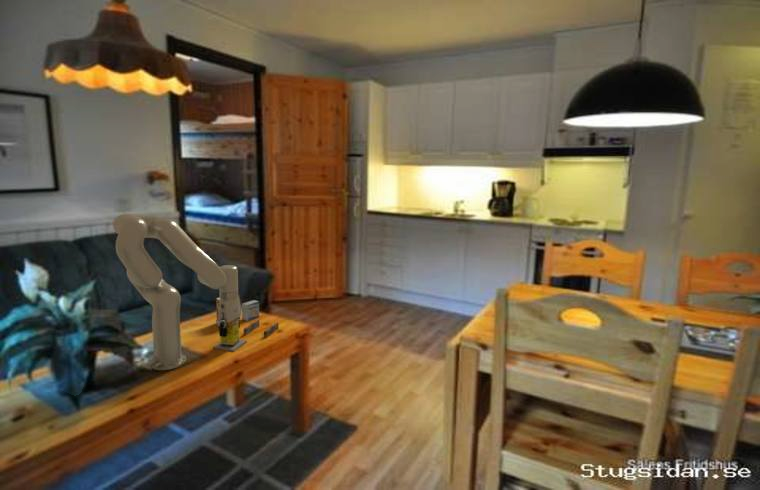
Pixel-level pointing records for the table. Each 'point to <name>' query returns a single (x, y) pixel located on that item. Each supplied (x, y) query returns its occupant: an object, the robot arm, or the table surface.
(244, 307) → the medicine box
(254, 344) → the table surface
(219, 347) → the grey tile
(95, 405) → the table surface
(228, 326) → the supplement box
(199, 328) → the table surface
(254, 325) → the divider rack
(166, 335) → the robot arm
